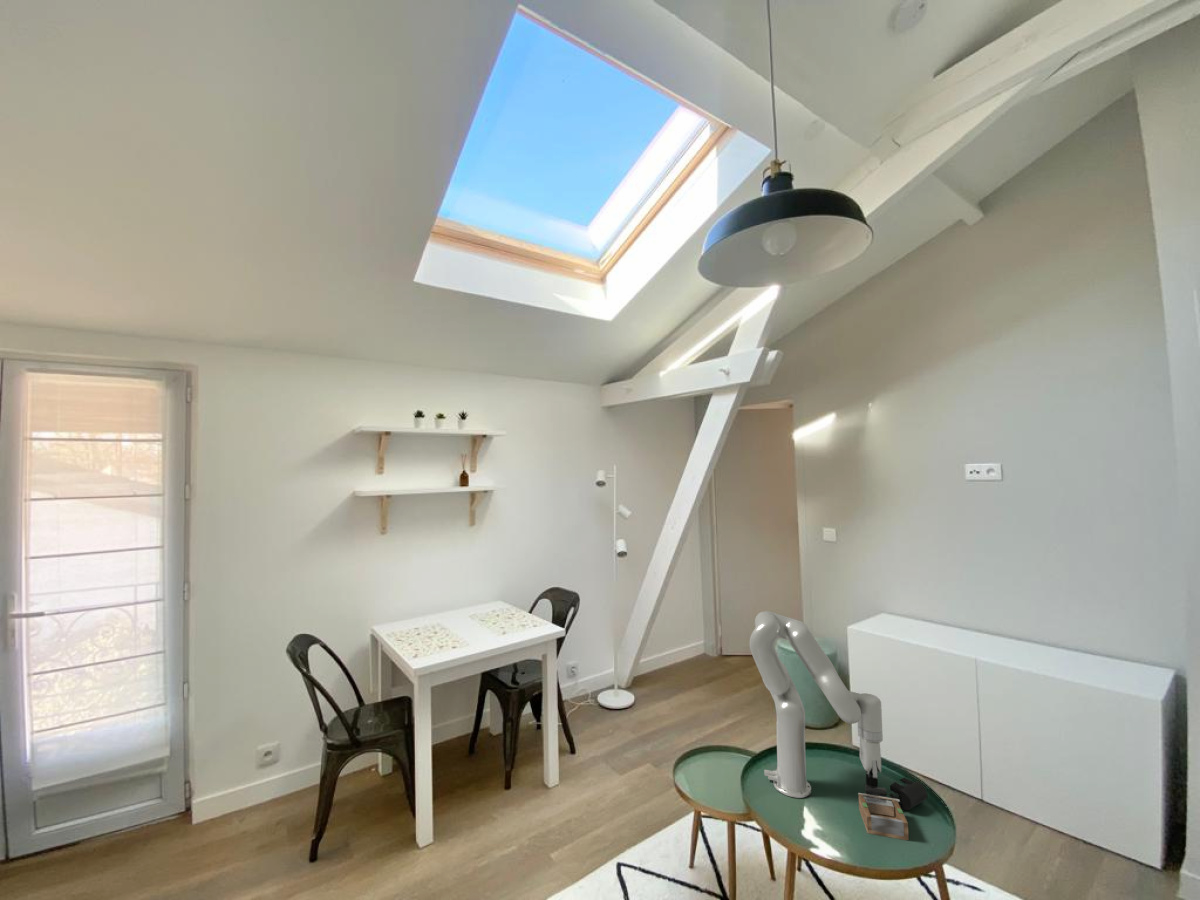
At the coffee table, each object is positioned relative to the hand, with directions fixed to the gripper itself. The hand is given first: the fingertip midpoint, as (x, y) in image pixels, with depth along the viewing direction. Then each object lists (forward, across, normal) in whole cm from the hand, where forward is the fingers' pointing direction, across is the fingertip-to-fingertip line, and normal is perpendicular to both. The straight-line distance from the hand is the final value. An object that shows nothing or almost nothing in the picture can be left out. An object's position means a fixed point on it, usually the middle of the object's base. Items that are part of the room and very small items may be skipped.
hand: (872, 787), depth 169 cm
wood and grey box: (+4, +13, 0) cm, 13 cm away
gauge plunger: (+2, +7, 0) cm, 8 cm away
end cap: (+4, 0, +11) cm, 12 cm away
